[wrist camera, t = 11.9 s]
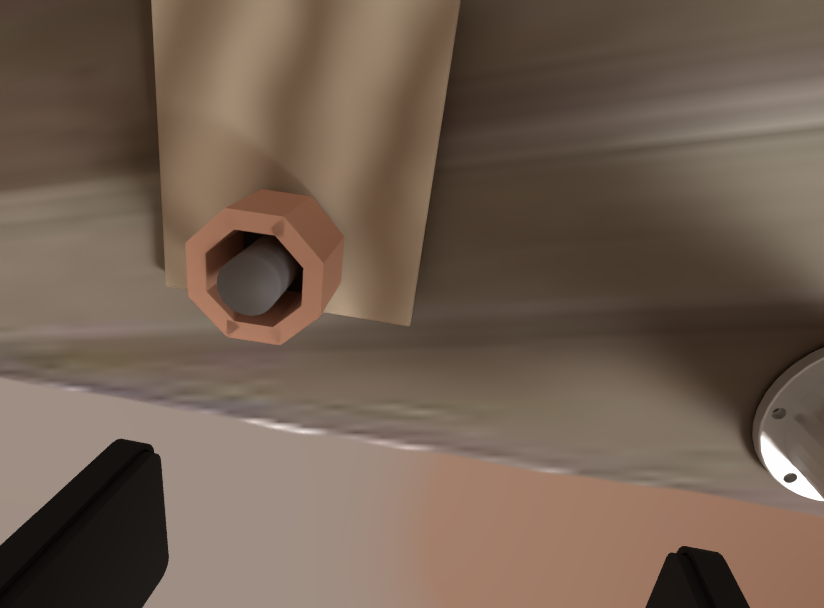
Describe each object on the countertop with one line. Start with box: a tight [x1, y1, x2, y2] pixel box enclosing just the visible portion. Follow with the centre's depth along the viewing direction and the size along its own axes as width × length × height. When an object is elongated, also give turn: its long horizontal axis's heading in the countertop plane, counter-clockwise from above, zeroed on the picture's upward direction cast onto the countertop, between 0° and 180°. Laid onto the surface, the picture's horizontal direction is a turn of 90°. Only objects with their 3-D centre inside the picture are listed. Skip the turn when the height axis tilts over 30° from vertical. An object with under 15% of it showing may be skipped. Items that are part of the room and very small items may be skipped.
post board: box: [151, 0, 461, 326], centre depth 27 cm, size 16×20×8 cm
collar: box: [185, 189, 345, 345], centre depth 29 cm, size 7×7×5 cm
